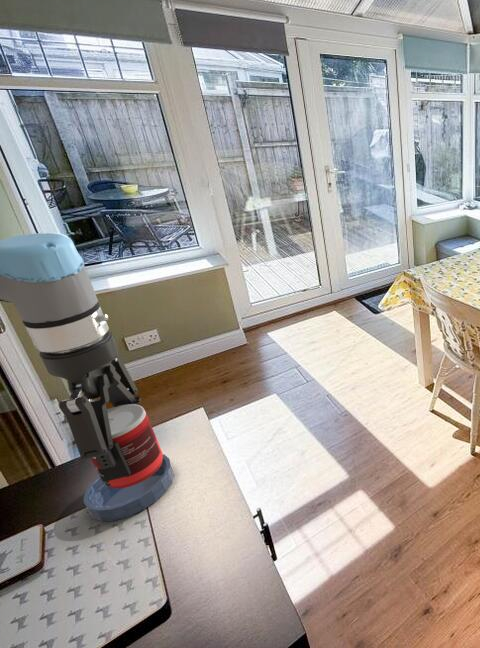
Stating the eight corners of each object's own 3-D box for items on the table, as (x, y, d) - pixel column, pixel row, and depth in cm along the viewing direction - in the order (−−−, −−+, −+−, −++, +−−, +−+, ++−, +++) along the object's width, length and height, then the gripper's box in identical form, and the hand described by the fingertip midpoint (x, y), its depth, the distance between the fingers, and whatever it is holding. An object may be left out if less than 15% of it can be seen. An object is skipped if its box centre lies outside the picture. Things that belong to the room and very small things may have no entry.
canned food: (116, 458, 71) (92, 409, 67) (171, 447, 74) (152, 399, 70) (93, 496, 65) (66, 445, 60) (155, 482, 68) (133, 431, 63)
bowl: (77, 533, 77) (70, 520, 76) (105, 476, 88) (99, 464, 87) (165, 507, 82) (160, 495, 81) (181, 456, 93) (177, 445, 92)
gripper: (78, 376, 52) (136, 500, 61) (132, 303, 69) (172, 409, 78) (-5, 391, 49) (69, 519, 58) (73, 311, 66) (122, 420, 75)
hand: (128, 456), depth 68 cm, fingers closed on canned food, 8 cm apart
